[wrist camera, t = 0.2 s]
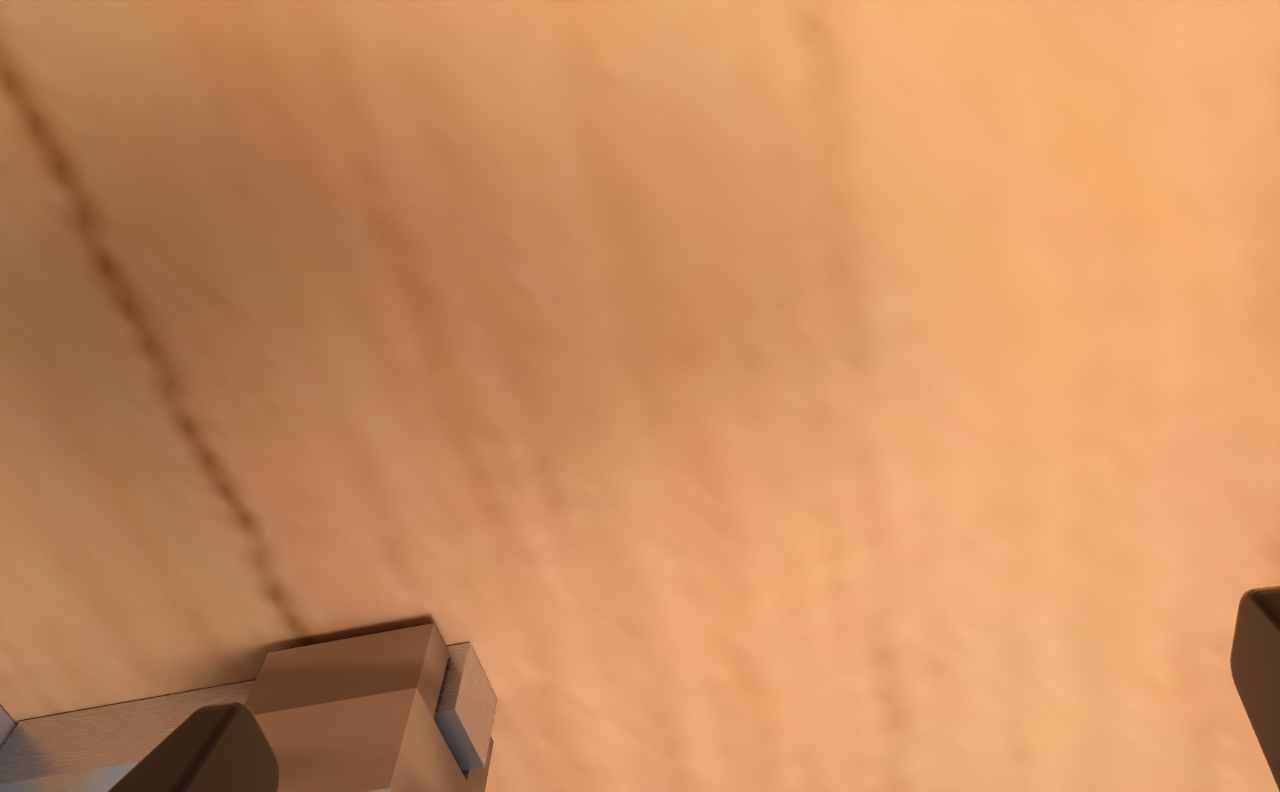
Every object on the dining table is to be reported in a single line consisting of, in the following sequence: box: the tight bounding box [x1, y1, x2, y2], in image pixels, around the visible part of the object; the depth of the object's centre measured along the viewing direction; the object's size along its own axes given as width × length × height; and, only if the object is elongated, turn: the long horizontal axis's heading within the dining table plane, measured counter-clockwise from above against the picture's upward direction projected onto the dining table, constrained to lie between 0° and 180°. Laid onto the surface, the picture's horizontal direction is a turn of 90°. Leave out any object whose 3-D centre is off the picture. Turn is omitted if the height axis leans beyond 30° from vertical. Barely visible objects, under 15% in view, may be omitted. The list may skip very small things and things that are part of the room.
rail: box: [0, 642, 497, 792], centre depth 30 cm, size 2×15×2 cm, turn 104°
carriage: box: [245, 623, 493, 792], centre depth 27 cm, size 5×5×5 cm
